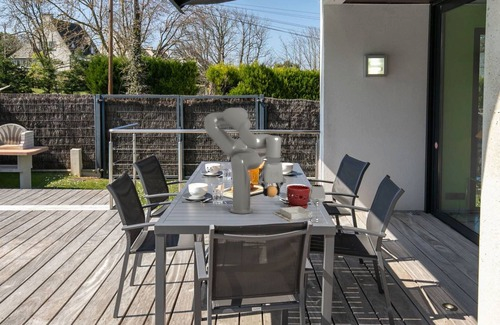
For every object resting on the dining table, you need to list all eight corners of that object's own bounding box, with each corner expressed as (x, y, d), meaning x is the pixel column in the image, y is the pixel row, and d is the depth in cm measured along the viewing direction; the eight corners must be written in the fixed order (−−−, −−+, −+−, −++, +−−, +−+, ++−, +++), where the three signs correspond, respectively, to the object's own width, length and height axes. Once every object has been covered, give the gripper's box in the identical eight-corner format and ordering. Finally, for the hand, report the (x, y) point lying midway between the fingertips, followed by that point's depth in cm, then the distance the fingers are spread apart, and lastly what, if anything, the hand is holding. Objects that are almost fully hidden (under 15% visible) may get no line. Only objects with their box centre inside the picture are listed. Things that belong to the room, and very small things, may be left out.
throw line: (273, 213, 262) (273, 212, 262) (275, 213, 262) (275, 212, 262) (290, 222, 244) (290, 221, 244) (293, 221, 244) (293, 221, 244)
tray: (279, 213, 261) (279, 208, 261) (299, 211, 266) (299, 206, 265) (291, 219, 248) (291, 213, 248) (312, 217, 253) (312, 212, 252)
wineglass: (323, 219, 250) (324, 184, 248) (326, 223, 242) (327, 187, 240) (307, 219, 250) (307, 184, 248) (309, 223, 242) (310, 187, 239)
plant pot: (284, 209, 271) (285, 188, 269) (288, 204, 283) (288, 184, 282) (308, 211, 268) (308, 189, 266) (311, 206, 280) (311, 185, 279)
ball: (263, 196, 251) (263, 184, 250) (274, 195, 254) (274, 184, 253) (268, 198, 246) (268, 187, 245) (279, 198, 248) (279, 186, 247)
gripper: (260, 162, 240) (258, 197, 243) (291, 161, 247) (289, 196, 250) (254, 159, 247) (252, 194, 250) (284, 158, 254) (283, 192, 256)
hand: (271, 195), depth 250 cm, fingers closed on ball, 5 cm apart
